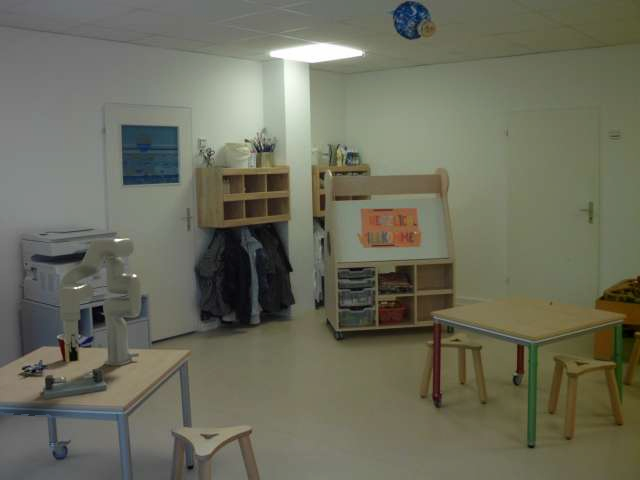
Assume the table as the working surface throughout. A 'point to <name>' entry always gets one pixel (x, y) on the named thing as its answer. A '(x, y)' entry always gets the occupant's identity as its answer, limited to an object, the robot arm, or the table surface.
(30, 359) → the table surface
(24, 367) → the toy airplane
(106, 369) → the table surface
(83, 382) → the board
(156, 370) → the table surface
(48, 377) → the shaft
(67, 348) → the olive yellow block
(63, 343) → the plastic cup
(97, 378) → the shaft
